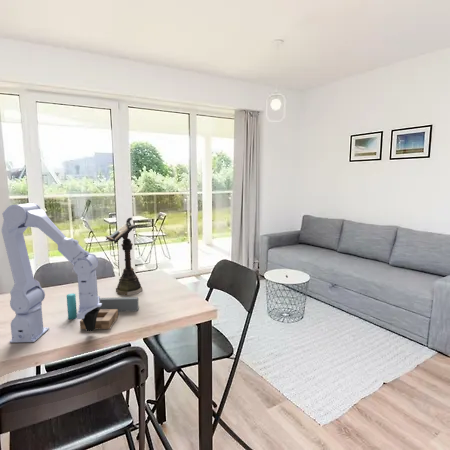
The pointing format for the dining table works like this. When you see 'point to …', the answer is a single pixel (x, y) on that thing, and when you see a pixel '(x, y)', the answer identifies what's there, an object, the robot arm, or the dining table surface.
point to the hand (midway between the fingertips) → (90, 330)
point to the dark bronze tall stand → (126, 262)
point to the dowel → (71, 306)
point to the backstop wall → (120, 303)
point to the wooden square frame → (103, 319)
